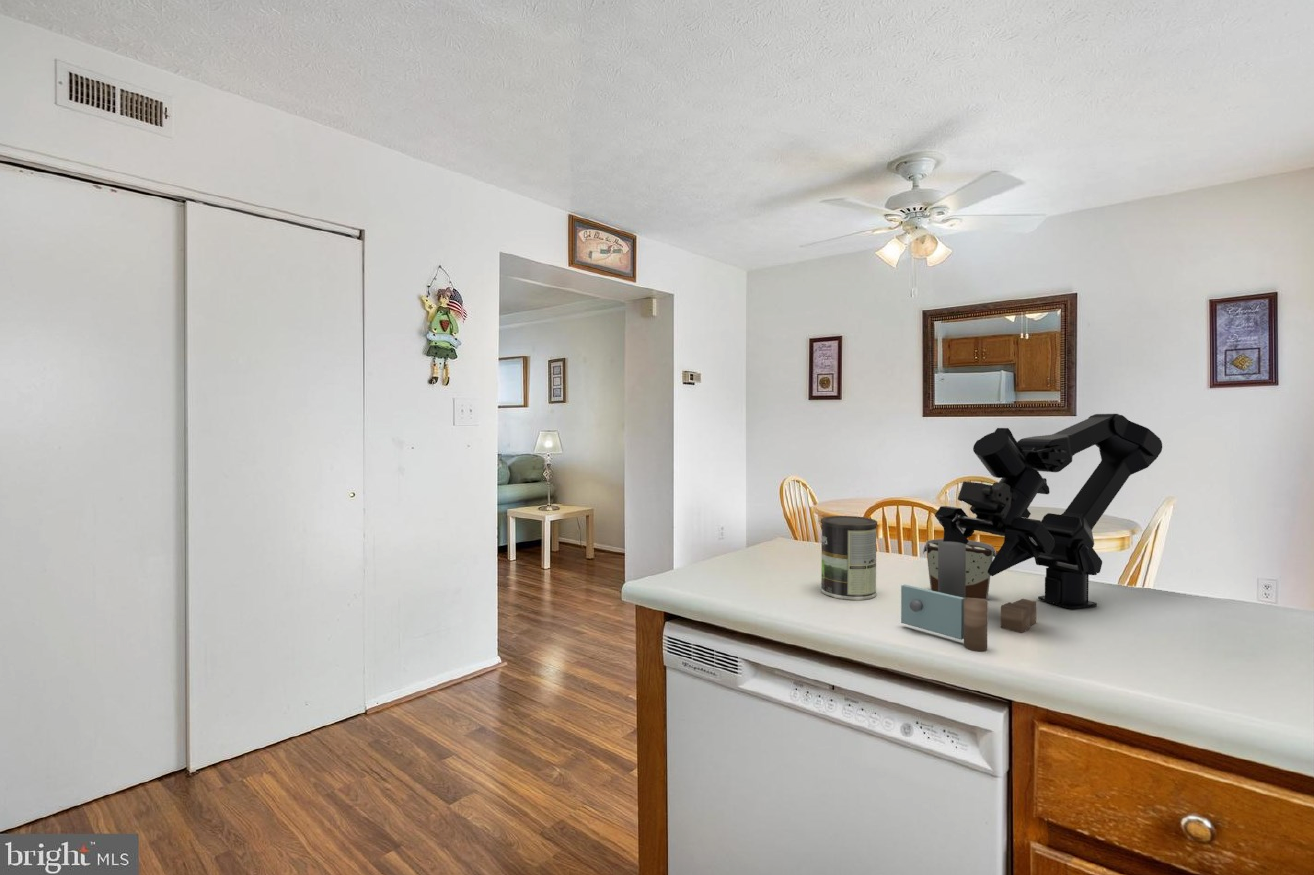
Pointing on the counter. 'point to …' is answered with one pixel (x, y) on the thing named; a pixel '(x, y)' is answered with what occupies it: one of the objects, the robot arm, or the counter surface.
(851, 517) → the coffee can
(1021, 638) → the counter surface
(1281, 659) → the counter surface
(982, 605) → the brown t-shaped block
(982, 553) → the food container
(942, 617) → the door
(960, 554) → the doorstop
